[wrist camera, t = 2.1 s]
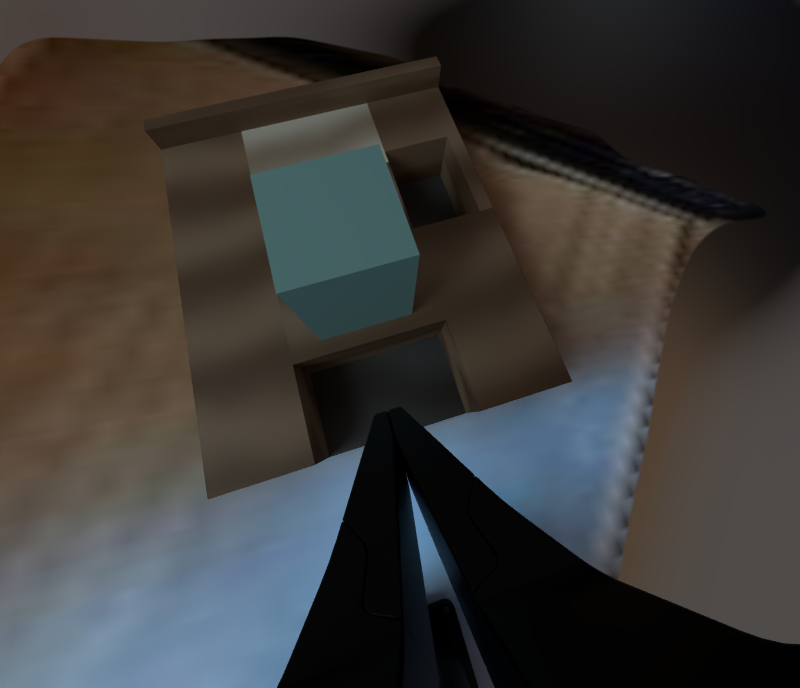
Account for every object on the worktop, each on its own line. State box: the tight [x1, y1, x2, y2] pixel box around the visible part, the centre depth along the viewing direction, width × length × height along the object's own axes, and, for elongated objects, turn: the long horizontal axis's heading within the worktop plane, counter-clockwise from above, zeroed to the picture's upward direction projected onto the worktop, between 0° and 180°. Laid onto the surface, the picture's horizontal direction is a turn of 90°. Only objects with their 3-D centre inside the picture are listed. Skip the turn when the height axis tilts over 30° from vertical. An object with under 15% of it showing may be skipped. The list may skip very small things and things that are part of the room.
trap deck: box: [144, 56, 572, 499], centre depth 21 cm, size 26×22×6 cm
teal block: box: [250, 144, 420, 340], centre depth 16 cm, size 6×6×7 cm
